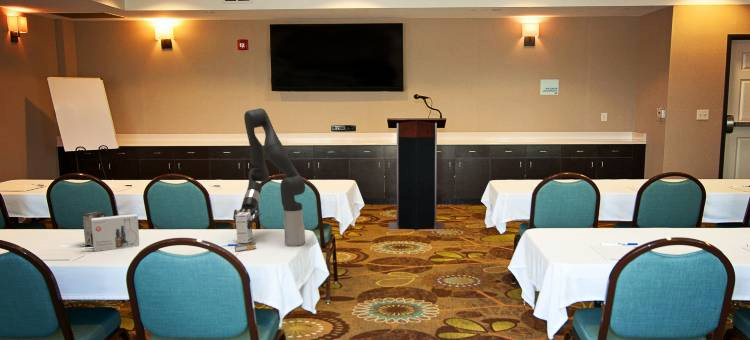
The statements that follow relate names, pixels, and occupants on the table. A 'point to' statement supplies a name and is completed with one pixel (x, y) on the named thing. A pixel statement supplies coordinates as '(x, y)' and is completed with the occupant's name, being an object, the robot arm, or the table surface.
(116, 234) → the skincare box
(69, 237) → the table surface
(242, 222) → the syrup box
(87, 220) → the coffee box
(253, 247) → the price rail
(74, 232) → the table surface
